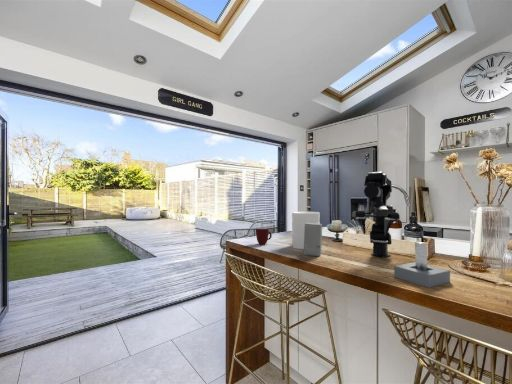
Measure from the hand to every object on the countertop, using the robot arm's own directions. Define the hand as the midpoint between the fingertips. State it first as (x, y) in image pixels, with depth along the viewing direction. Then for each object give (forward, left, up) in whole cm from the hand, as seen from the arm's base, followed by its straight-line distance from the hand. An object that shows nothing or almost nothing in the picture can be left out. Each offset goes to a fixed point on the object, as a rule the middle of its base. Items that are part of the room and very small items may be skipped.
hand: (375, 234), depth 110 cm
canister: (+7, -42, -13) cm, 44 cm away
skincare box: (+15, -25, -13) cm, 32 cm away
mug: (+26, -59, -13) cm, 65 cm away
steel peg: (+4, +22, -13) cm, 26 cm away
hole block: (+4, +22, -13) cm, 26 cm away
